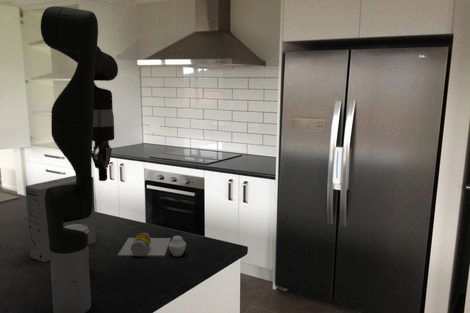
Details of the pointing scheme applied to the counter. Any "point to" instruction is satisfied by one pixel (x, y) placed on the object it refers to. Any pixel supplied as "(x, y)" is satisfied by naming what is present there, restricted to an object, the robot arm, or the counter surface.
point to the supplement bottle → (140, 244)
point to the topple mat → (155, 248)
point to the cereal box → (39, 219)
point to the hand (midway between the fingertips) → (103, 180)
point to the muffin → (177, 246)
